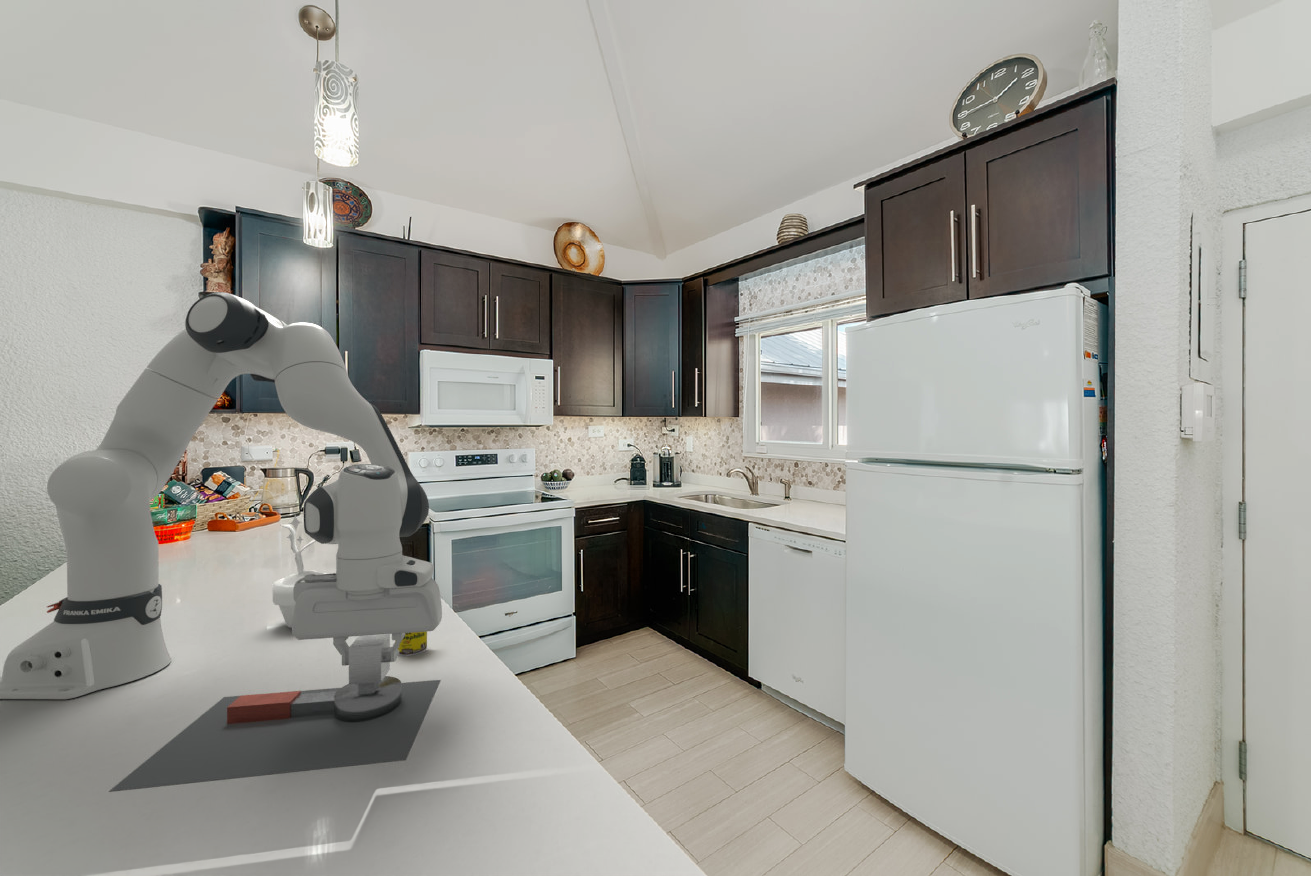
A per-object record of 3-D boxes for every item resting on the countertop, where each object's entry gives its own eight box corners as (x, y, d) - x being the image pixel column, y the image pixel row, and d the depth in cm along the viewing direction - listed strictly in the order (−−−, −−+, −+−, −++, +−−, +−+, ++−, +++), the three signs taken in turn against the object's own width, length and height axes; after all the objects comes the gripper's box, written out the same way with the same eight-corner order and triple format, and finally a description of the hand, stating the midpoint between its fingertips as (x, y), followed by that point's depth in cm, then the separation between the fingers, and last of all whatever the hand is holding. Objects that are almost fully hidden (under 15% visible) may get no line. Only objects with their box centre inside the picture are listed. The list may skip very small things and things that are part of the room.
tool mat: (108, 796, 61) (108, 791, 61) (224, 700, 82) (224, 696, 82) (405, 764, 67) (405, 759, 67) (440, 683, 89) (440, 679, 89)
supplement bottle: (397, 661, 97) (397, 606, 97) (393, 650, 102) (393, 598, 102) (429, 654, 100) (429, 600, 100) (424, 644, 105) (424, 593, 105)
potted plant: (267, 638, 107) (267, 515, 107) (277, 619, 118) (277, 508, 117) (339, 627, 113) (339, 511, 113) (343, 611, 123) (343, 504, 123)
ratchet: (214, 735, 72) (214, 699, 72) (251, 702, 81) (251, 669, 81) (391, 719, 77) (391, 684, 77) (408, 689, 85) (408, 658, 85)
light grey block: (348, 684, 78) (348, 647, 78) (359, 671, 82) (359, 636, 82) (381, 682, 78) (381, 645, 78) (389, 668, 83) (389, 634, 83)
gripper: (283, 581, 75) (283, 677, 75) (436, 574, 79) (436, 665, 79) (303, 569, 81) (303, 658, 81) (444, 563, 85) (444, 648, 85)
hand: (370, 662), depth 80 cm, fingers closed on light grey block, 4 cm apart
